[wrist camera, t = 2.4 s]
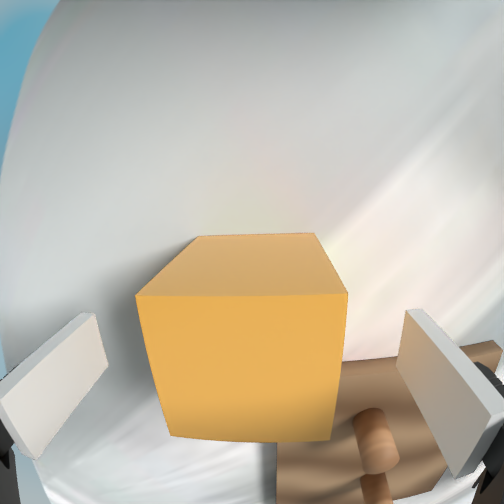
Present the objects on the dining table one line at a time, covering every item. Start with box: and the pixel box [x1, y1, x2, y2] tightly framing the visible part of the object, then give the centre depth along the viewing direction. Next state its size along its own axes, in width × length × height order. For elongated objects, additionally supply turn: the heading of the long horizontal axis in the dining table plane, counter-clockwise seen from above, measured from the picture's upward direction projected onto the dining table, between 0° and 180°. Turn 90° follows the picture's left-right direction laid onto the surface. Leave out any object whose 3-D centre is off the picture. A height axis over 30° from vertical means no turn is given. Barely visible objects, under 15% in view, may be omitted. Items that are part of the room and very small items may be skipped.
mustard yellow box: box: [135, 233, 348, 443], centre depth 13 cm, size 6×6×8 cm
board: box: [276, 340, 503, 504], centre depth 16 cm, size 18×16×8 cm
